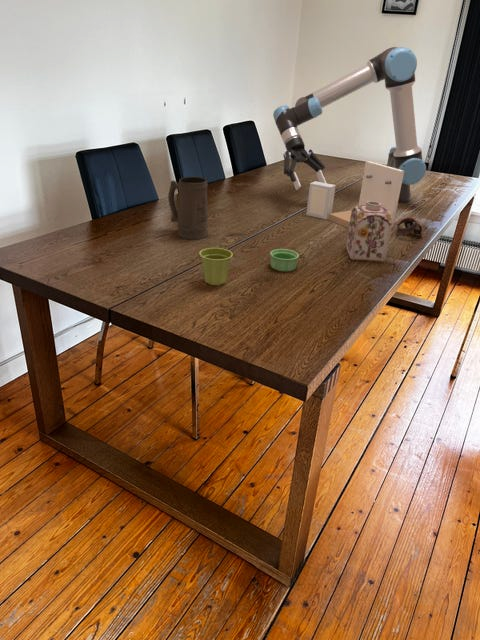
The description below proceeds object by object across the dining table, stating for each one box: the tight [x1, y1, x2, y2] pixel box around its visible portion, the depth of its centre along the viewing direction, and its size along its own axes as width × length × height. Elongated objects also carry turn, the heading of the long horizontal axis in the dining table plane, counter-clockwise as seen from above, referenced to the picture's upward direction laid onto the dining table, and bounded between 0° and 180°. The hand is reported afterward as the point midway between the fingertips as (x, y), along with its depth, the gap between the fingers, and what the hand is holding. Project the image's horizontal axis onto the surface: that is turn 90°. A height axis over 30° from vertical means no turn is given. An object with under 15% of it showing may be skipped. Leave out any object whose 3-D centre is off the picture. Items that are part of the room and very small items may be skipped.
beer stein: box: [167, 176, 209, 240], centre depth 180 cm, size 15×11×20 cm
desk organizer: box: [328, 160, 404, 229], centre depth 201 cm, size 18×18×22 cm
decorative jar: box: [345, 201, 393, 262], centre depth 172 cm, size 12×12×18 cm
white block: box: [305, 180, 336, 220], centre depth 210 cm, size 5×9×13 cm, turn 58°
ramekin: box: [269, 248, 300, 272], centre depth 162 cm, size 9×9×4 cm
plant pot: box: [198, 247, 233, 286], centre depth 148 cm, size 9×9×9 cm
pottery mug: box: [395, 216, 423, 239], centre depth 195 cm, size 12×10×8 cm
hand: (311, 186), depth 211 cm, fingers open, 13 cm apart
